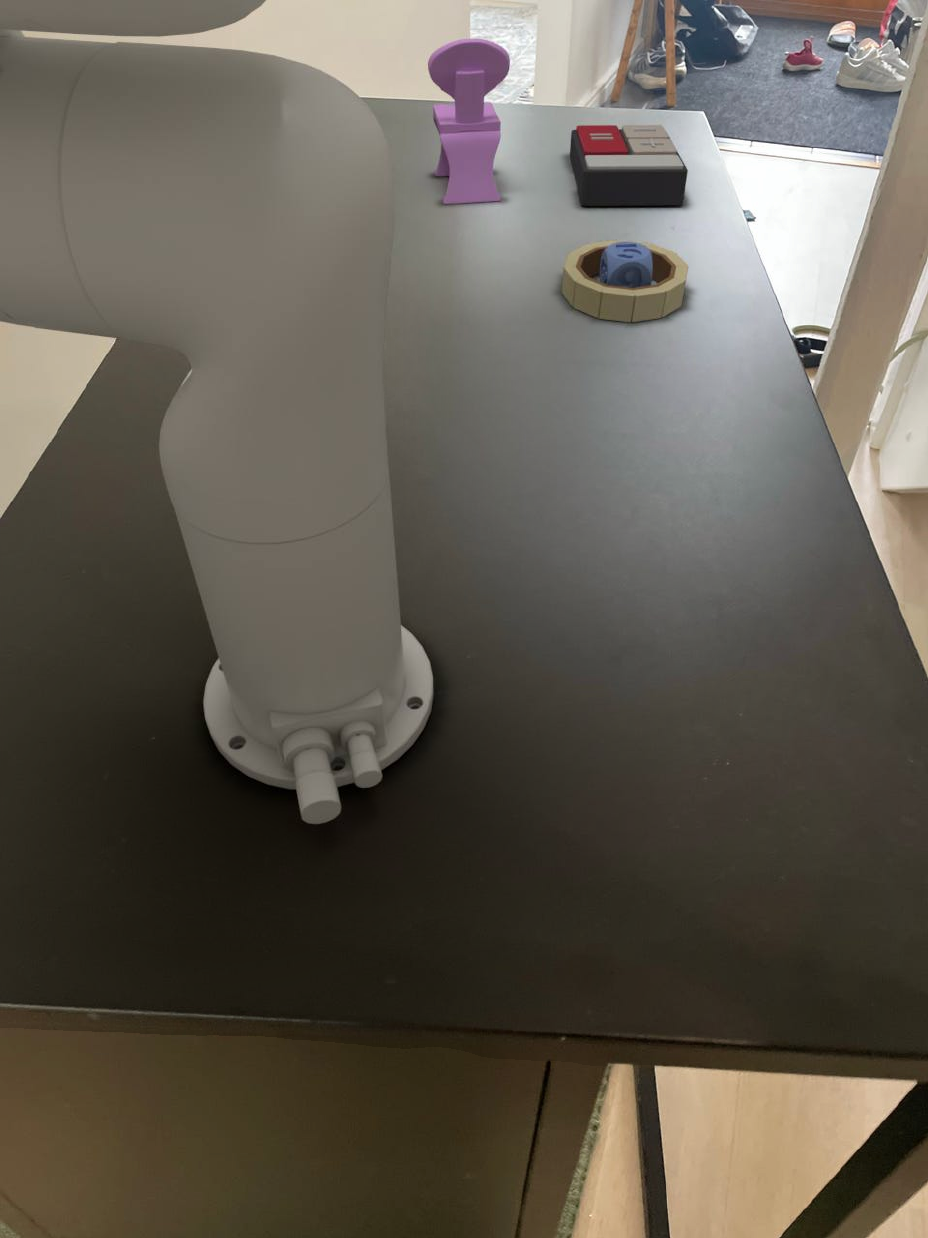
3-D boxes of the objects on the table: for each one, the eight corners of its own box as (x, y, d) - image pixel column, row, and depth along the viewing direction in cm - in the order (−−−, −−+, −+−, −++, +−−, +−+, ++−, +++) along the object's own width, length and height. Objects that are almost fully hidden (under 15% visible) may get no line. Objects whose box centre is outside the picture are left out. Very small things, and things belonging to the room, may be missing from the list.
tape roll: (703, 312, 82) (708, 285, 80) (588, 329, 80) (591, 302, 78) (652, 259, 89) (656, 233, 87) (546, 273, 87) (548, 248, 85)
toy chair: (497, 170, 105) (500, 18, 94) (510, 200, 99) (515, 41, 88) (425, 174, 104) (420, 21, 93) (434, 204, 98) (430, 45, 87)
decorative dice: (639, 282, 86) (646, 240, 83) (648, 302, 83) (655, 259, 80) (597, 283, 85) (602, 241, 83) (605, 304, 83) (610, 261, 80)
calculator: (666, 121, 105) (690, 162, 95) (660, 161, 108) (683, 205, 97) (571, 121, 105) (584, 162, 95) (568, 161, 108) (580, 206, 97)
